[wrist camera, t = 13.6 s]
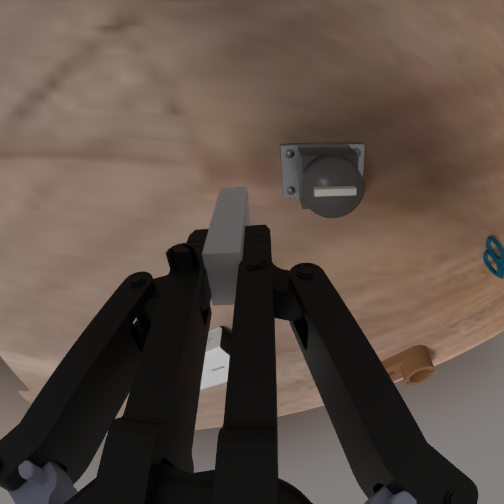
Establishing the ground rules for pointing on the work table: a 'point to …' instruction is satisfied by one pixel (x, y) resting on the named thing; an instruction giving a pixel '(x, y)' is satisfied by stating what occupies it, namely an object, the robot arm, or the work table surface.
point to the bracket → (410, 365)
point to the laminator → (216, 358)
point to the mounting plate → (291, 164)
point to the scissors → (495, 257)
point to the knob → (329, 180)
